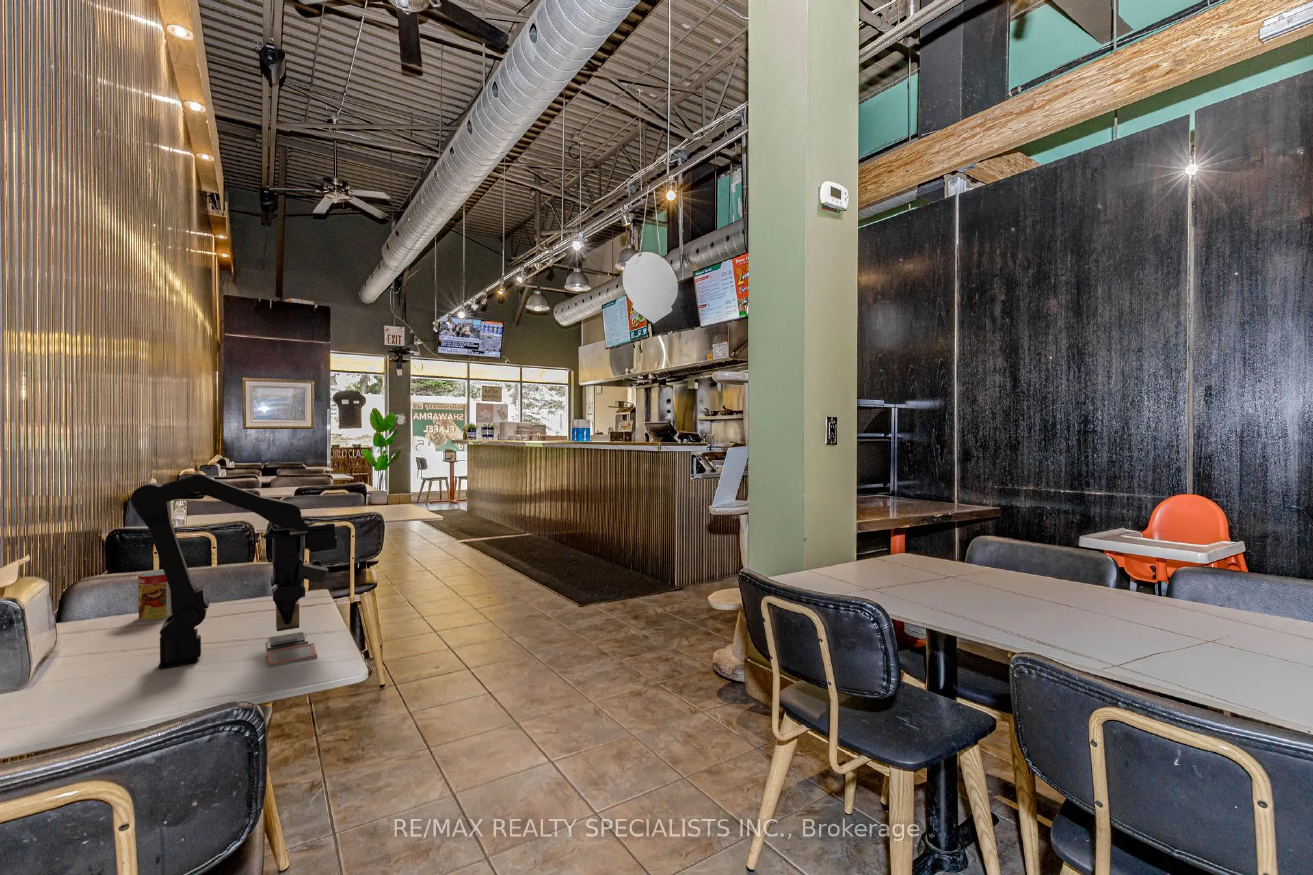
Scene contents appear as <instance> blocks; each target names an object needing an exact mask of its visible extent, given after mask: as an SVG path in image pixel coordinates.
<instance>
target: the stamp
mask: <svg viewBox="0 0 1313 875" xmlns="http://www.w3.org/2000/svg"><path fill="white" fill-rule="evenodd" d="M275 628H276V632H282V631H289V630H295V629H300V602H299V600H298V601H297V602H296V604H295V608H294V612H293V617H292V621H291V623H290V624H285V622H284V620H283V618H282V616H281V614H280V612H279V610H278V608H277V606H276V605H275Z"/></svg>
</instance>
